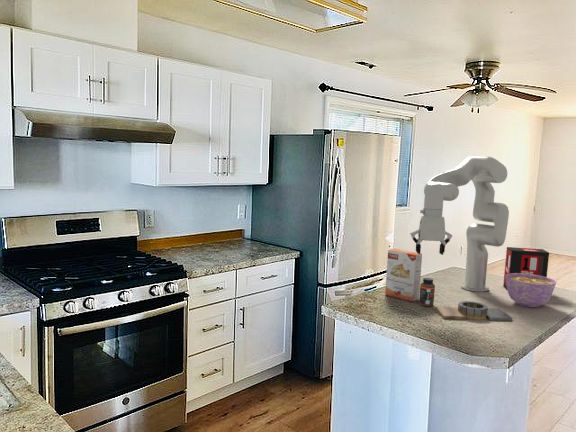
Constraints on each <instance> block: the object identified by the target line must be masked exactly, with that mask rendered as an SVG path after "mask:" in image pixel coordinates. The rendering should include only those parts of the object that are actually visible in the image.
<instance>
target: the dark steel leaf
mask: <svg viewBox="0 0 576 432" xmlns="http://www.w3.org/2000/svg"><path fill="white" fill-rule="evenodd" d="M470 307H473V308H470ZM457 308H458V309H459V310H460V311H462V312H465V313H469V314H479V315H481V314H486V313H487V316H486V319H487V320H488V321H500V322H501V321H504V322H505V321H506V322H512V321H513V317H512V316H510V315H509V314H508V313H507V312H505V311H503V310H502V309H500V308H497V307H495V308H494V307H489V306H488V305H486V304H484V303H482V302H477V301H471V300H469V301H468V300H467V301H466V300H465V301H464V300H463V301H459V302H458V304H457Z"/></svg>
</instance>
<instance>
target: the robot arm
mask: <svg viewBox="0 0 576 432" xmlns="http://www.w3.org/2000/svg"><path fill="white" fill-rule="evenodd" d="M507 169H508V168H507V167H506V166H505V165H504V164H503V163H502V162H500V161H499V160H498V159H496V158H494V157H493V156H486V155H485V156H482V155H481V156H479V155H478V156H477V155H474V156H473V155H471V156H468V157H467V158H465V159H464V160H462V161H461V163H459V164H458V165H457V166H456V167H455V168H454V169H449V170H447V171H444V172H442V173H439V174H437V175H434V176H433V177H432V178H431V179H430V180H429V181H427V183H426V184H425V186H424V189H423V195H424V198H423V199H424V201H423V208H422V209H420V210H419V214H422V215H421V217H420V221H419V227H418V228H417V229H416V230H414V231H412V232H410V233H409V234H410V237H411V239H412V241H413V242H414V243H415V252H416V253H418V254H420V253H421V252H422V251H421V248H422V245H421V243H422V242H423V241H426V242H427V241H429V242H431V241H432V242H439V243H440V244H439V254H440V255H444V253H445V251H446V249H445V248H446V245H447V244H448V243H449V242H451V241H450V240H451V239H452V237H453V234H452V233H450V232H447V231H446V221H445V217H444V216H443V208H444V202H452V201H455V200H456V199H457V198H458V197H459V194H460V190H459V187H463V186H466V185H468V184H469V182H472V183H473V186H474V189H475V196H474V201H473V210H472V216H473V218H474V220H476V221H479V222H486V223H493V224H494V225H491V224H484V223H471V224H470V225H469V226H467V229H466V232H465V234H466V235H465V237H466V259H465V272H464V283H461V284H460V288H461V289H463V290H466V291H471V292H478V293H481V292H483V293H484V292H488V291H489V286H487V285H486V284H487V283H486V282H487V281H486V280H487V272H488V260H489V259H488V258H489V253H488V248H487V247H486V246H492V247H495V248H497V247H498V248H499V247H501V246H503V245H504V243H505V241H506V238H507V237H506V236H507V230H508V223H509V218H510V211H509V207H508V206H507V205H506V204H505V203H502V202H497V201H496V202H495V193H496V191H495V189H494V186H493V185H492V184H502V183H504V182H505V181H506V179H507V177H508V170H507ZM416 235H417V237H418V238H417V237H416ZM446 236H447V237H446ZM445 237H446V238H445Z"/></svg>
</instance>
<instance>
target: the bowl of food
mask: <svg viewBox="0 0 576 432" xmlns="http://www.w3.org/2000/svg"><path fill="white" fill-rule="evenodd" d="M505 278H506V285H507V290H508V291H507V290H506V291H507V294H508V296H509V298H510V299H511V300H513V301H514V302H515V303H517V304H518V305H520V306H521V307H527V308H538V307H539V306H544V305H546V304H547V303H548V302H549V301H550V299H551V298H552V295H553V292H554V291H555V290H554V289H555V287H556V285H557V281H556V280H555V279H553V278H550V277H548V276H547V277H543V276H539V275H533V274H524V273H511V274H507V275H505Z"/></svg>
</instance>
